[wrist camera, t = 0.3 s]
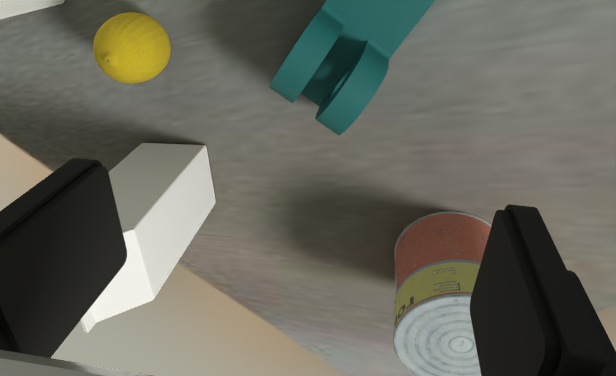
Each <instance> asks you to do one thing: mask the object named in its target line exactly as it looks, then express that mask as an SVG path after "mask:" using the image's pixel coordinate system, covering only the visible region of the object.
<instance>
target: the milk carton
mask: <svg viewBox="0 0 616 376" xmlns="http://www.w3.org/2000/svg"><path fill="white" fill-rule="evenodd" d="M108 173H109V177H110V181H111V185H112V190H113V194H114V198H115V202H116V206H117V211H118V215H119V219H120V223H121V228H122V232H123V236H124V240H125V244H126V249H127V259H126V262H125V264H124V266H123V267H122V268H121V269H120V271H119V272H118V273H117V274H116V276H115V277H114V278H113V279H112V281H111V282H110V283H109V285H108V286H107V287H106V288H105V290H104V291H103V292H102V293H101V295H100V296H99V297H98V298H97V300H96V301H95V302H94V303H93V305H92V306H91V307H90V308H89V310H88V311H87V312H86V314H85V315H84V316H83V317H82V319H81V320H80V321H81V324H82V326H83V329H84V331H85V332H86V333H88V332H89V331H90V330H91V328H92V327H93V326H94V324H95V323H96V322H99V321H101V320H104V319H106V318H109V317H111V316H114V315H116V314H119V313H122V312H124V311H126V310H129V309H132V308H134V307H137V306H139V305H142V304H144V303H147V302H149V301H152V300H154V298H155V296H156V295H157V293H158V292H159V290H160V288H161V287H162V285H163V284H164V282H165V281H166V279H167V278H168V276H169V274H170V273H171V271H172V270H173V268H174V267H175V265H176V264H177V262H178V261H179V259H180V257H181V256H182V254H183V253H184V251H185V250H186V248H187V247H188V245H189V243H190V242H191V240H192V239H193V237H194V236H195V234H196V233H197V231H198V229H199V228H200V226H201V225H202V223H203V222H204V220H205V219H206V217H207V215H208V214H209V212H210V211H211V209H212V208H213V206H214V205H215V202H216V201H215V195H214V189H213V183H212V177H211V171H210V165H209V159H208V154H207V148H206V146H205V145H186V144H161V143H141V144H140V145H139V146H138V147H137V148H136V149H135V150H133V151H132V152H131V153H130V154H129V155H128V156H127V157H125V158H124V159H123V160H122V161H121V162H120V163H119V164H117V165H116V166H115V167H114V168H113V169H112V170H111V171H109V172H108Z"/></svg>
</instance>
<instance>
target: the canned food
mask: <svg viewBox="0 0 616 376" xmlns="http://www.w3.org/2000/svg"><path fill="white" fill-rule="evenodd" d="M491 226H492V225H490V224H489V223H488V222H486V221H485V220H483V219H481V218H479V217H477V216H474V215H471V214H468V213H463V212H455V211H446V212H438V213H433V214H429V215H426V216H424V217H422V218H419V219H418V220H416V221H414V222H413V223H411V224H410V225H409V226H408V227H406V228H405V230H404V231H403V232H402V233H401V234H400V236H399V238H398V240H397V242H396V245H395V250H394V259H395V329H394V336H393V344H394V349H395V352H396V354H397V356H398V358H399V359H400V361H401V362H402V363H403V365H404V366H405V367H406V368H407V369H409V370H410V371H411V372H412V373H414V374H415V375H417V376H481V371H480V365H479V360H478V354H477V349H476V344H475V338H474V333H473V327H472V322H471V316H470V299H471V295H472V292H473V288H474V285H475V281H476V278H477V275H478V271H479V268H480V264H481V261H482V257H483V254H484V250H485V247H486V243H487V240H488V236H489V233H490V230H491Z"/></svg>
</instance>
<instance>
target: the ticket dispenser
mask: <svg viewBox="0 0 616 376" xmlns="http://www.w3.org/2000/svg"><path fill="white" fill-rule="evenodd" d="M64 1H65V0H0V19H3V18H7V17H11V16H15V15H19V14H23V13H27V12H31V11H35V10H39V9H43V8H47V7H51V6H55V5H59V4H63V3H64Z"/></svg>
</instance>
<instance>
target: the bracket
mask: <svg viewBox="0 0 616 376" xmlns="http://www.w3.org/2000/svg"><path fill="white" fill-rule="evenodd" d="M434 1H435V0H326V2H325V3H324V5H323V6H322V8H321V9H320V10H319V12H318V13H317V14H316V15H315V17H314V18H313V19H312V21H311V22H310V24H309V25H308V26H307V28H306V29H305V31H304V32H303V34H302V35H301V37H300V38H299V40H298V41H297V43H296V44H295V46H294V47H293V49H292V50H291V52H290V53H289V55H288V56H287V58H286V60H285V61H284V63H283V64H282V66H281V67H280V69H279V71H278V72H277V74H276V75H275V77H274V79H273V80H272V82H271V84H270V86H269V87H270V88H271V89H273V90H274V91H276V92H277V93H279V94H280V95H282V96H283V97H284V98H286V99H287V100H289V101H290V102H292V103H293V102H294V101H295V100H296V98H297V97H298V96H299V94H300V93H302V94H303V95H305V96H306V97H308V98H309V99H310V100H312V101H313V102H315V103H316V104H318V105H319V106H320V107H319V110H318V112H317V114H316V117H315V119H316V120H317V121H319V122H320V123H322V124H323V125H324V126H326V127H327V128H329V129H330V130H332V131H333V132H334V133H336V134H337V135H340V134H342V133H343V132H344V131H345V130H346V129H348V127H349V126H350V125H351V124H352V123H353V122H354V121H355V120H356V119H357V117H358V116H359V115H360V114H361V112H362V111H363V110H364V108H365V107H366V106H367V104H368V103H369V101H370V100H371V99H372V97H373V96H374V94H375V93H376V91H377V89H378V88H379V86H380V84H381V83H382V81H383V79H384V77H385V75H386V73H387V70H388V63H389V59H390V57H391V56H392V54H393V53H394V52H395V51H396V49H397V48H398V47H399V45H400V44H401V43H402V42H403V40H404V39H405V38H406V37H407V35H408V34H409V33H410V31H411V30H412V29H413V28H414V26H415V25H416V24H417V23H418V21H419V20H420V19H421V17H422V16H423V15H424V14H425V12H426V11H427V10H428V8H429V7H430V6H431V5H432V3H433V2H434Z"/></svg>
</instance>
